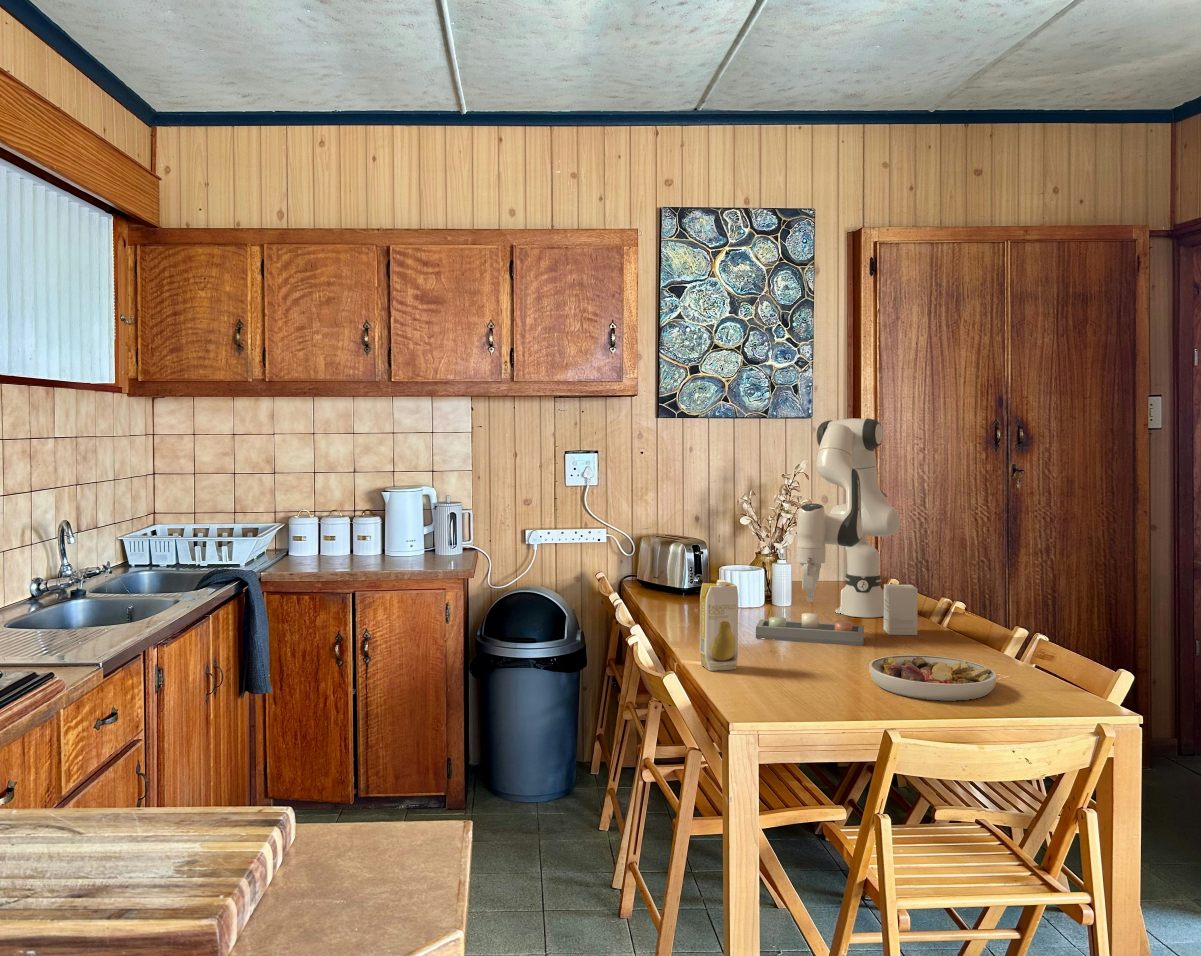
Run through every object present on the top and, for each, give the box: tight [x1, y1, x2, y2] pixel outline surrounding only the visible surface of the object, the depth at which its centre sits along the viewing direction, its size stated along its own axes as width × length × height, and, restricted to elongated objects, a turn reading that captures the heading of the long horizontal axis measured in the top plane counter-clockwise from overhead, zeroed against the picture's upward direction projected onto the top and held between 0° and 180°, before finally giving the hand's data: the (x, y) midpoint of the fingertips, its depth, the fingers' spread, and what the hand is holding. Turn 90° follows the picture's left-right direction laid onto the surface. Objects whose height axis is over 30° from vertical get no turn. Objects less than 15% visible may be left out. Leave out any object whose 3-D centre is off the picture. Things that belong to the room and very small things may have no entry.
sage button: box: [768, 616, 787, 627], centre depth 294 cm, size 5×5×4 cm
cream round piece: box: [801, 612, 820, 629], centre depth 291 cm, size 5×5×4 cm
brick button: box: [834, 620, 853, 631], centre depth 288 cm, size 5×5×4 cm
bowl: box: [868, 654, 997, 702], centre depth 235 cm, size 30×30×8 cm
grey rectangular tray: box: [755, 618, 865, 647], centre depth 291 cm, size 12×32×4 cm, turn 74°
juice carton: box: [699, 579, 739, 672], centre depth 252 cm, size 9×8×24 cm
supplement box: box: [883, 583, 919, 636], centre depth 300 cm, size 9×9×15 cm
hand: (810, 600), depth 291 cm, fingers closed
